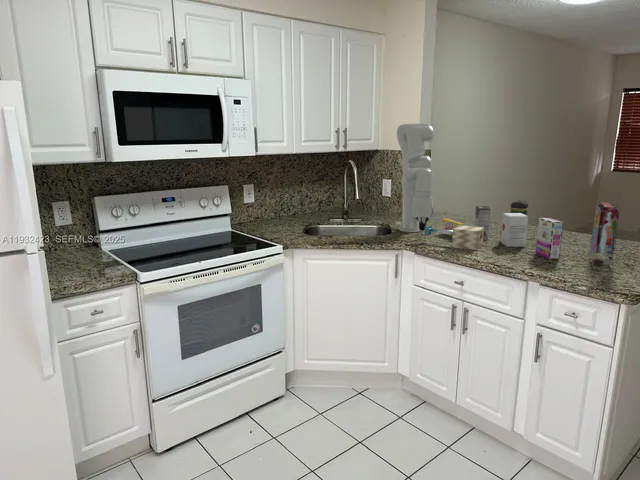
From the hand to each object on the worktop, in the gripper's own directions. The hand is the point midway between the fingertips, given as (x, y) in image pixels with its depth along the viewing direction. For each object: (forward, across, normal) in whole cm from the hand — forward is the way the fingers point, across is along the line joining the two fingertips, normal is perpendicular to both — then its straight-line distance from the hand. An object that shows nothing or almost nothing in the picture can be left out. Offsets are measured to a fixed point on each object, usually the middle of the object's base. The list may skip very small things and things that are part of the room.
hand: (422, 230), depth 229 cm
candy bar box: (+6, +58, 0) cm, 58 cm away
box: (+6, +77, +3) cm, 77 cm away
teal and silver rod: (+2, +11, 0) cm, 11 cm away
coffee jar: (+6, +38, +37) cm, 53 cm away
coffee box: (+6, +24, +22) cm, 33 cm away
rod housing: (+6, +23, 0) cm, 24 cm away
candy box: (+6, +10, +19) cm, 22 cm away
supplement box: (+6, +41, +15) cm, 44 cm away
